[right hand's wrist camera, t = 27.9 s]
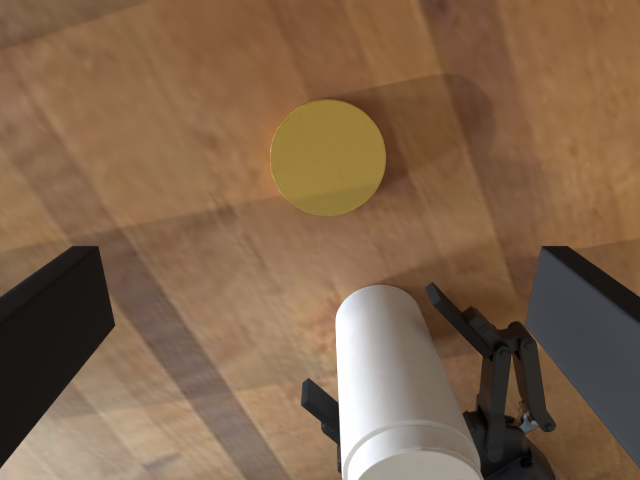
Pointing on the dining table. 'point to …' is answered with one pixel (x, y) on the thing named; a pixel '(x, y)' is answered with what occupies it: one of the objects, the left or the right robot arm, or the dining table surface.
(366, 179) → the lid
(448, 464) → the jar
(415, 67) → the dining table surface
